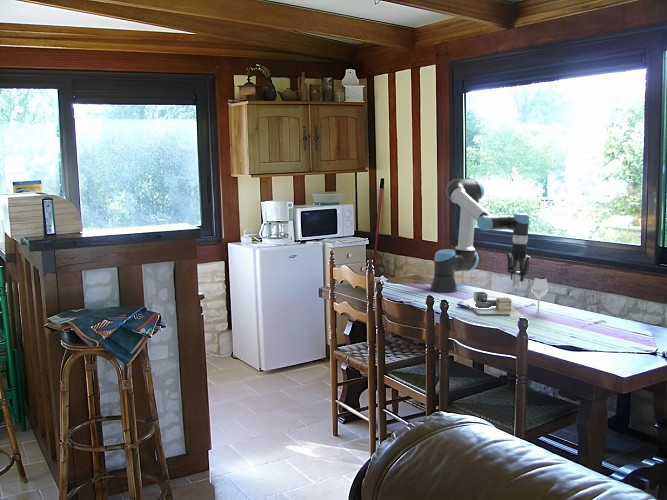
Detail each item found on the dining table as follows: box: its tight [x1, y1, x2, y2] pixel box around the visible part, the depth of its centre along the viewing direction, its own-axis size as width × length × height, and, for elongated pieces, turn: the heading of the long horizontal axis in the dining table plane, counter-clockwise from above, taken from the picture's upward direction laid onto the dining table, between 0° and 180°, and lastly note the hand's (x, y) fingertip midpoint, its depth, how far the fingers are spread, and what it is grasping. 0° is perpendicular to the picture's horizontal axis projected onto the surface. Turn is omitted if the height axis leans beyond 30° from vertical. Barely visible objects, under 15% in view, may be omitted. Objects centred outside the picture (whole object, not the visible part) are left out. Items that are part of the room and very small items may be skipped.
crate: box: [495, 297, 512, 312], centre depth 353 cm, size 6×6×6 cm
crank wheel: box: [473, 291, 496, 308], centre depth 361 cm, size 14×18×6 cm
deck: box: [468, 305, 525, 318], centre depth 354 cm, size 29×23×1 cm
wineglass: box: [530, 276, 549, 314], centre depth 350 cm, size 8×8×18 cm
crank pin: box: [513, 270, 520, 292], centre depth 367 cm, size 3×3×10 cm
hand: (516, 286), depth 368 cm, fingers closed on crank pin, 3 cm apart
